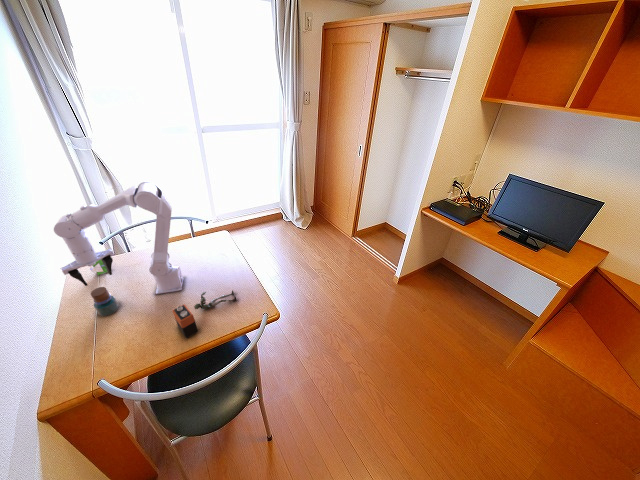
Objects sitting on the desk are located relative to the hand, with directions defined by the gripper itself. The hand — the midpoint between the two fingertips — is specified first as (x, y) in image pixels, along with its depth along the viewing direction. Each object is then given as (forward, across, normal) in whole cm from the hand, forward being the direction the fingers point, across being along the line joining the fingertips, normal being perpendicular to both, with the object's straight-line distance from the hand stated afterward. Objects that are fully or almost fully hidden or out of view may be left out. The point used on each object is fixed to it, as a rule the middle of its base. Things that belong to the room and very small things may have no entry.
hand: (98, 278), depth 97 cm
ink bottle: (+10, -2, -6) cm, 12 cm away
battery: (+11, +11, -36) cm, 40 cm away
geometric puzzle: (+11, +5, +19) cm, 22 cm away
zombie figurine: (+11, +24, -34) cm, 43 cm away
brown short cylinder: (+4, -2, -6) cm, 7 cm away
